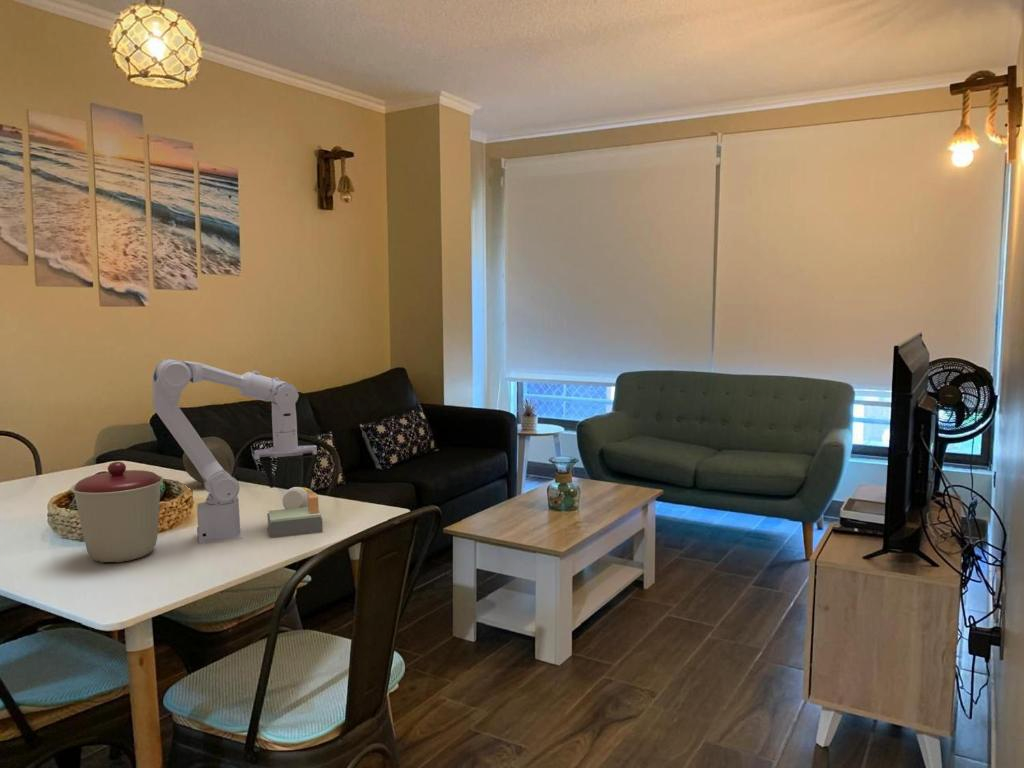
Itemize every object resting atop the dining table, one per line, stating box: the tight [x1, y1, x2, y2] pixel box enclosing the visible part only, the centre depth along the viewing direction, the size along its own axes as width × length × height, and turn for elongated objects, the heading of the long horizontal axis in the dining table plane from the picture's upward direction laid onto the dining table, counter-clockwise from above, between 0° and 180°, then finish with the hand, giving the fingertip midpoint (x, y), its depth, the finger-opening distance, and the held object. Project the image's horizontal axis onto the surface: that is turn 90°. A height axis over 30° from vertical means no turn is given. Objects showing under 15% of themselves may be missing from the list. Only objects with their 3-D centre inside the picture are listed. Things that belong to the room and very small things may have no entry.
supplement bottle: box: [282, 486, 314, 509], centre depth 195 cm, size 7×7×13 cm
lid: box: [268, 492, 321, 523], centre depth 184 cm, size 11×8×4 cm
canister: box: [70, 461, 164, 563], centre depth 168 cm, size 18×18×21 cm
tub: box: [266, 511, 324, 539], centre depth 185 cm, size 12×9×4 cm
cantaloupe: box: [182, 436, 235, 485], centre depth 232 cm, size 14×14×15 cm
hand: (287, 485), depth 188 cm, fingers open, 7 cm apart
